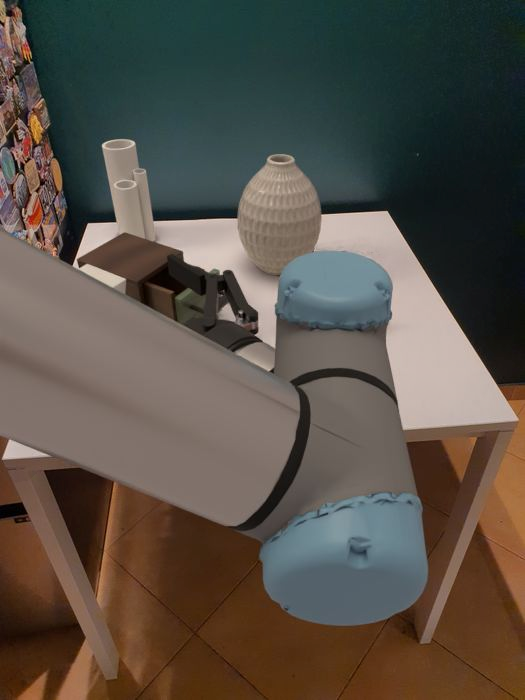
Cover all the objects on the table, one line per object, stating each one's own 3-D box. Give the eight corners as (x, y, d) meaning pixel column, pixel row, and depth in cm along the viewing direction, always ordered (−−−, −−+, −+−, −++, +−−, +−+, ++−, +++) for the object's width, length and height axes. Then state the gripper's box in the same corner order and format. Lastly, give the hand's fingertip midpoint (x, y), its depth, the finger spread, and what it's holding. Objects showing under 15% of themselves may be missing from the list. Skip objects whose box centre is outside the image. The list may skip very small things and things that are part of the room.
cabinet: (188, 299, 97) (183, 251, 91) (146, 332, 90) (137, 281, 83) (133, 279, 103) (124, 231, 96) (89, 308, 95) (76, 259, 88)
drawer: (242, 317, 91) (240, 276, 86) (206, 350, 84) (202, 308, 79) (167, 290, 98) (162, 250, 93) (128, 318, 91) (120, 277, 86)
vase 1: (115, 231, 119) (98, 142, 106) (146, 225, 121) (132, 137, 108) (129, 253, 111) (111, 159, 98) (161, 246, 113) (148, 153, 100)
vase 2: (258, 295, 98) (257, 181, 84) (227, 256, 110) (222, 150, 96) (332, 277, 103) (343, 166, 89) (295, 242, 115) (300, 139, 101)
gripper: (132, 474, 44) (27, 356, 56) (327, 348, 57) (208, 274, 69) (117, 413, 39) (5, 298, 51) (334, 291, 52) (204, 222, 64)
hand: (122, 284), depth 60 cm, fingers open, 13 cm apart
